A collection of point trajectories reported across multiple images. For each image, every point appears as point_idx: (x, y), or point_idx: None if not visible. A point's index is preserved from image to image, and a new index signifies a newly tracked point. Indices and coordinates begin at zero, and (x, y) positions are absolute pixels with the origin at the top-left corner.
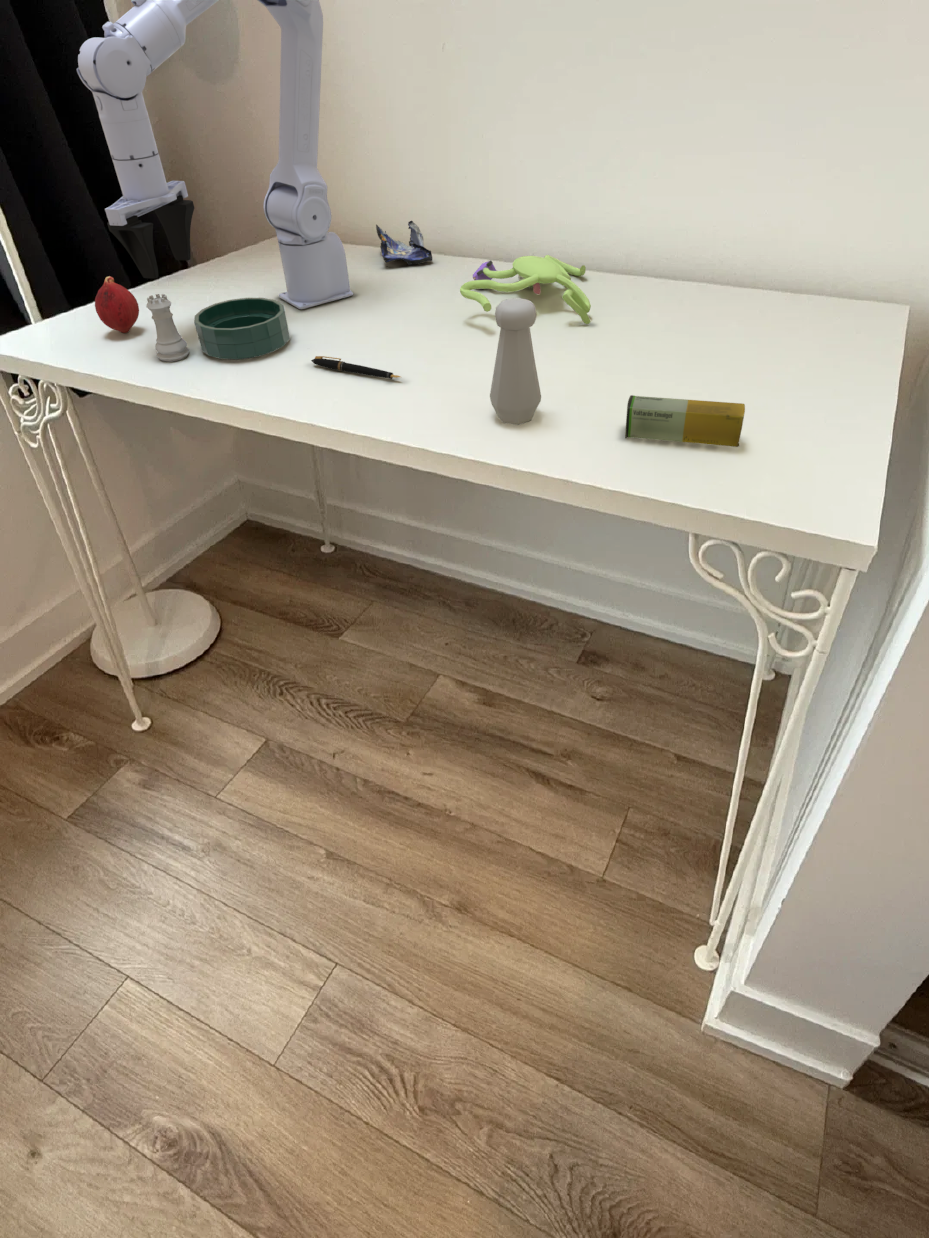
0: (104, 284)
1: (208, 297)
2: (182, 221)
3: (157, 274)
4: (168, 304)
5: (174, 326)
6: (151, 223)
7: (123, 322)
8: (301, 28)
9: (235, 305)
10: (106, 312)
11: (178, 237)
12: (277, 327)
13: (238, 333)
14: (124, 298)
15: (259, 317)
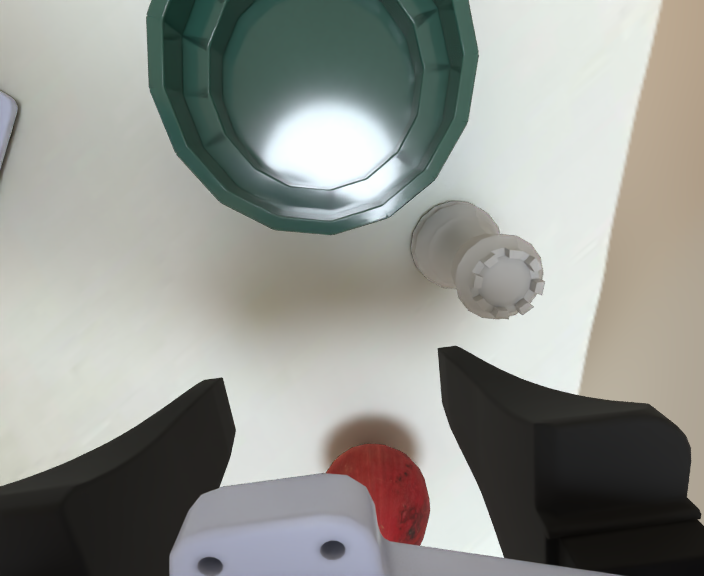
0: None
1: (87, 437)
2: (141, 472)
3: (446, 349)
4: (498, 237)
5: (464, 234)
6: (562, 427)
7: (399, 451)
8: None
9: (224, 180)
10: (426, 493)
11: (192, 457)
12: None
13: None
14: (382, 487)
15: (212, 95)
